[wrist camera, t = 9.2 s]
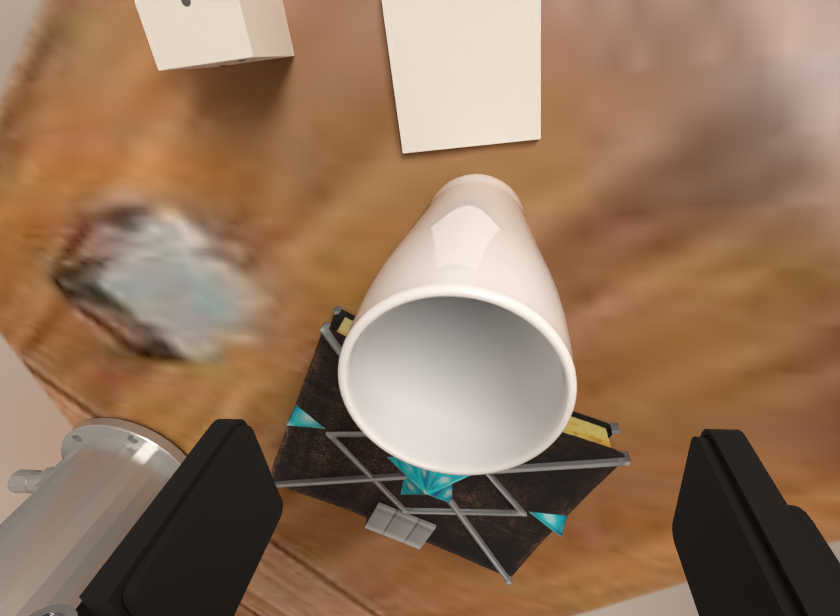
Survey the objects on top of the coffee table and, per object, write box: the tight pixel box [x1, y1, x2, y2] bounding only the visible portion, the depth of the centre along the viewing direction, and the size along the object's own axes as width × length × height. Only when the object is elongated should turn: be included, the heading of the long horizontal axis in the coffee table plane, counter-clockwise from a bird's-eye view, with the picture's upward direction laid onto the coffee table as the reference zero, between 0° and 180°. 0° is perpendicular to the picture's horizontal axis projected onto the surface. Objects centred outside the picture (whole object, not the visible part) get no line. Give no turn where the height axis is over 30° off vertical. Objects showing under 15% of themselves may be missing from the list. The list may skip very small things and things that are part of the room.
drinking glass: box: [338, 174, 577, 475], centre depth 19 cm, size 7×7×15 cm
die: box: [134, 0, 294, 71], centre depth 20 cm, size 4×4×4 cm
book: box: [271, 306, 631, 585], centre depth 33 cm, size 22×17×5 cm
